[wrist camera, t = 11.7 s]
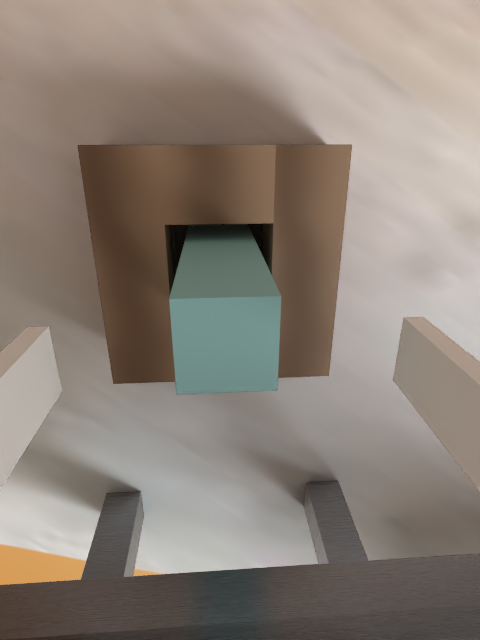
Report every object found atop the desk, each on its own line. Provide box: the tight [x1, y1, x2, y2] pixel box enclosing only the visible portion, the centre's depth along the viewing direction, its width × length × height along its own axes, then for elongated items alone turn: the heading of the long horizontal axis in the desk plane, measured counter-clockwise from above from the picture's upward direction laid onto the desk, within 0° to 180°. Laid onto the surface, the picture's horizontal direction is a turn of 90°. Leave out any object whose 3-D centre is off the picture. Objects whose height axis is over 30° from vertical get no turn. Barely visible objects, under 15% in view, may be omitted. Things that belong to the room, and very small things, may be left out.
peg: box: [169, 225, 281, 394], centre depth 22 cm, size 4×4×14 cm
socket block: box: [78, 145, 352, 384], centre depth 26 cm, size 14×14×5 cm
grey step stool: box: [0, 481, 480, 640], centre depth 26 cm, size 24×16×20 cm, turn 90°
